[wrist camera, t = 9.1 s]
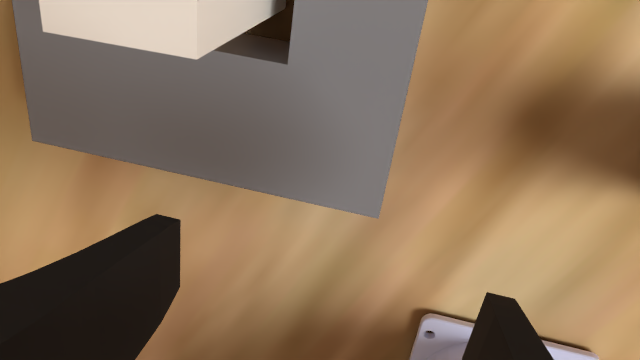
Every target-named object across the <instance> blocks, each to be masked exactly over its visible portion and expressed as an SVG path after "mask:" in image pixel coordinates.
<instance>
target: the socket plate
mask: <svg viewBox="0 0 640 360" xmlns="http://www.w3.org/2000/svg"><path fill="white" fill-rule="evenodd" d="M427 2H428V0H295V1H294V10H293V19H292V29H291V38H290V42H288V41H282V40H277V39H272V38H266V37H261V36H256V35H250V34H245V33H242V34H240V35H239V36H237V37H235V38H233V39H232V40H230V41H228V42H226V43H225V44H223V45H221V46H219V47H218V48H216V49H214V50H213V51H211V52H209V53H207V54H206V55H204V56H202V57H200V58H199V59H197V60H196V59H191V58H185V57H180V56H174V55H169V54H163V53H158V52H152V51H147V50H141V49H136V48H130V47H125V46H119V45H114V44H108V43H103V42H97V41H92V40H86V39H81V38H75V37H70V36H64V35H59V34H53V33H48V32H43V28H42V20H41V13H40V5H39V0H12V4H13V11H14V18H15V25H16V32H17V39H18V46H19V52H20V59H21V66H22V73H23V80H24V87H25V94H26V101H27V108H28V114H29V121H30V128H31V135H32V141H36V142H41V143H45V144H49V145H54V146H58V147H63V148H67V149H72V150H76V151H80V152H85V153H89V154H94V155H98V156H103V157H107V158H111V159H116V160H120V161H125V162H129V163H134V164H138V165H143V166H147V167H151V168H156V169H160V170H165V171H169V172H174V173H178V174H182V175H187V176H191V177H196V178H200V179H205V180H209V181H213V182H218V183H222V184H227V185H231V186H236V187H240V188H244V189H249V190H253V191H258V192H262V193H267V194H271V195H276V196H280V197H284V198H289V199H293V200H298V201H302V202H307V203H311V204H315V205H320V206H324V207H329V208H333V209H338V210H342V211H346V212H351V213H355V214H360V215H364V216H369V217H373V218H378V219H379V214H380V210H381V205H382V201H383V197H384V192H385V188H386V183H387V179H388V175H389V170H390V166H391V161H392V157H393V153H394V148H395V144H396V139H397V135H398V130H399V126H400V122H401V117H402V113H403V108H404V104H405V100H406V95H407V91H408V86H409V82H410V77H411V73H412V69H413V64H414V60H415V55H416V51H417V47H418V42H419V38H420V33H421V29H422V25H423V20H424V16H425V11H426V7H427Z"/></svg>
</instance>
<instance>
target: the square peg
mask: <svg viewBox="0 0 640 360" xmlns="http://www.w3.org/2000/svg"><path fill="white" fill-rule="evenodd" d="M39 5H40V13H41V20H42V28H43V32H48V33H53V34H59V35H64V36H70V37H75V38H81V39H86V40H92V41H97V42H103V43H108V44H114V45H119V46H125V47H130V48H136V49H141V50H147V51H152V52H158V53H163V54H169V55H174V56H180V57H185V58H191V59H196V60H197V59H199V58H200V57H202V56H204V55H206V54H207V53H209V52H211V51H213V50H214V49H216V48H218V47H219V46H221V45H223V44H225V43H226V42H228V41H230V40H232V39H233V38H235V37H237V36H239V35H240V34H242V33H244V32H245V31H247V30H249V29H251V28H252V27H254V26H256V25H258V24H259V23H261V22H263V21H265V20H266V19H268V18H270V17H271V16H273V15H275V14H277V13H278V12H280V11H282V10H284V9H285V8H286V0H39Z"/></svg>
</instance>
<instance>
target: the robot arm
mask: <svg viewBox="0 0 640 360" xmlns="http://www.w3.org/2000/svg"><path fill="white" fill-rule="evenodd" d="M179 288H180V220H179V219H175V218H171V217H166V216H162V215H158V214H156V215H153V216H151V217H149V218H147V219H144V220H142V221H140V222H138V223H136V224H134V225H132V226H130V227H128V228H126V229H124V230H122V231H120V232H118V233H116V234H114V235H112V236H110V237H108V238H106V239H104V240H102V241H100V242H97V243H95V244H93V245H91V246H89V247H87V248H85V249H83V250H81V251H79V252H77V253H74V254H72V255H70V256H67V257H65V258H63V259H60V260H58V261H56V262H54V263H51V264H49V265H47V266H44V267H42V268H40V269H38V270H35V271H33V272H30V273H28V274H25V275H23V276H20V277H17V278H15V279H12V280H9V281H6V282H3V283H1V284H0V360H135V359H136V357H137V356H138V355H139V353H140V352H141V350H142V349H143V348H144V346H145V345H146V343H147V342H148V341H149V339H150V338H151V336H152V335H153V333H154V332H155V331H156V329H157V328H158V326H159V325H160V323H161V322H162V320H163V318H164V316H165V314H166V313H167V311H168V309H169V307H170V305H171V303H172V301H173V299H174V297H175V295H176V294H177V292H178V290H179ZM425 331H432V332H433V333H427V332H425ZM409 360H599V357H598V356H597V355H596V354H595V353H592V352H589V351H585V350H581V349H577V348H573V347H568V346H564V345H560V344H556V343H552V342H548V341H544V340H541V339H540V337H539V336H538V334H537V333H536V331H535V329H534V328H533V326H532V325H531V323H530V322H529V320H528V319H527V317H526V315H525V314H524V312H523V311H522V309H521V307H520V306H519V304H518V303H517V301H516V300H515V299H513V298H509V297H505V296H500V295H496V294H492V293H488V292H487V293H486V296H485V298H484V301H483V304H482V306H481V309H480V312H479V314H478V317H477V320H476V322H475V324H474V323H470V322H466V321H462V320H458V319H454V318H450V317H446V316H442V315H437V314H431V313H430V314H426V315H424V316H423V317H422V319H421V322H420V325H419V328H418V332H417V335H416V338H415V341H414V345H413V348H412V351H411V354H410V358H409Z"/></svg>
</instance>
